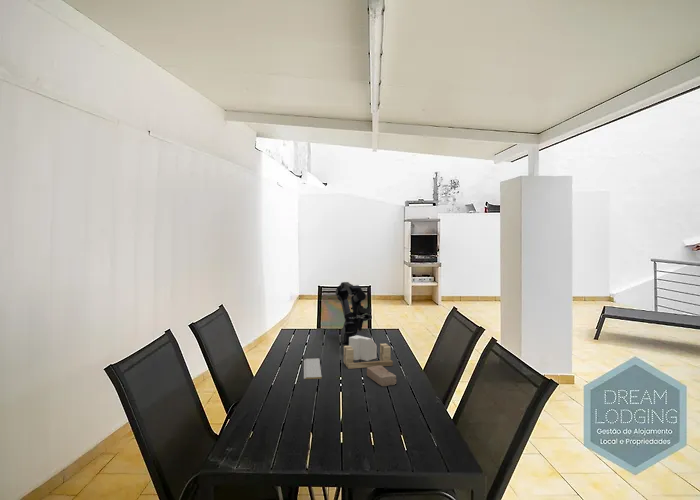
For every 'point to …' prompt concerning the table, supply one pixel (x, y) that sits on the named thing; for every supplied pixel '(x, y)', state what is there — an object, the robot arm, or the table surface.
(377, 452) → the table surface
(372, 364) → the wooden rack
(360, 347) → the grey faceted lump
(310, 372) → the baseboard
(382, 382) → the brick
